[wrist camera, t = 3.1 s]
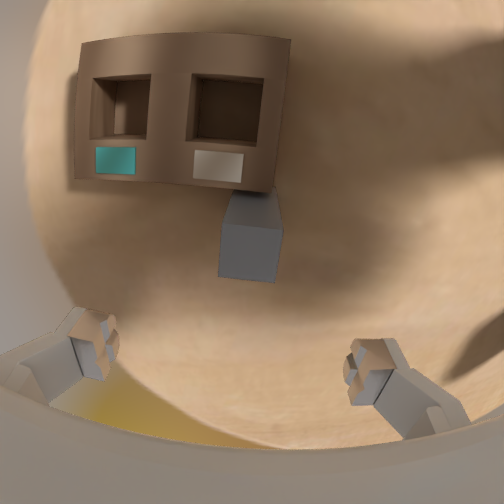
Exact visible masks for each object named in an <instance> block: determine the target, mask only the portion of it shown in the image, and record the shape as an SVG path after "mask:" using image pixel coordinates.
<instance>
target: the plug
mask: <svg viewBox="0 0 504 504" xmlns="http://www.w3.org/2000/svg"><path fill="white" fill-rule="evenodd" d="M283 231H284V230H283V224H282V219H281V213H280V208H279V203H278V197H277V192H276V187H272V193H264V192H255V191H247V190H237V189H234V190H233V193H232V196H231V199H230V202H229V205H228V207H227V210H226V213H225V216H224V219H223V222H222V230H221V243H220V256H219V271H218V277H224V278H233V279H242V280H251V281H260V282H269V283H275V279H276V273H277V267H278V261H279V255H280V249H281V243H282V237H283Z"/></svg>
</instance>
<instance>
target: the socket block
mask: <svg viewBox="0 0 504 504" xmlns="http://www.w3.org/2000/svg"><path fill="white" fill-rule="evenodd" d="M290 44H291V39H284V38H276V37H268V36H258V35H247V34H232V33H198V32H195V33H161V34H146V35H135V36H126V37H118V38H110V39H103V40H97V41H91V42H86V43H82V46H81V53H80V60H79V69H78V78H77V90H76V104H75V127H74V167H75V179H99V180H122V181H140V182H156V183H171V184H184V185H196V186H207V187H218V188H228V189H237V190H247V191H255V192H264V193H272V187H273V179H274V172H275V164H276V156H277V149H278V141H279V133H280V125H281V118H282V110H283V102H284V94H285V86H286V78H287V69H288V61H289V53H290ZM133 80H151V84H150V95H149V107H148V121H147V135H137V134H118V135H114V118H115V102H116V90H117V81H133ZM203 80H215V81H231V82H244V83H254V84H263V93H262V101H261V110H260V118H259V127H258V135H257V142H253V141H244V140H234V139H222V138H210V137H198V129H199V118H200V107H201V97H202V88H203Z"/></svg>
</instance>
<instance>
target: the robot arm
mask: <svg viewBox="0 0 504 504" xmlns="http://www.w3.org/2000/svg"><path fill="white" fill-rule="evenodd" d="M116 324H117V323H116V319H115V316H114V315H113V314H111V313H106V312H101V311H97V310H92V309H87V308H82V307H78V306H76V307H74V308H73V309H72V310H71V311H70V313H69V314H68V315H67V316H66V318H65V319H64V320H63V322H62V323H61V324H60V326H59V327H58V328H57V329H56V331H55V332H54V333H52V332H50V333H47V334H45V335H43V336H41V337H39V338H37V339H35V340H32V341H30V342H28V343H26V344H23V345H21V346H19V347H17V348H15V349H13V350H10V351H8V352H6V353H4V354H2V355H0V504H504V414H503V415H500V416H497V417H494V418H491V419H488V420H485V421H482V422H479V423H475V424H471V422H470V420H469V418H468V416H467V414H466V412H465V410H464V408H463V406H462V404H461V402H460V401H459V400H458V399H457V398H455V397H454V396H452V395H451V394H449V393H448V392H447V391H445V390H444V389H442V388H441V387H440V386H438V385H437V384H435V383H434V382H432V381H431V380H430V379H428V378H427V377H425V376H424V375H423V374H421V373H420V372H418V371H417V370H415V369H414V368H412V369H410V367H409V365H408V363H407V361H406V359H405V357H404V355H403V353H402V351H401V349H400V347H399V345H398V343H397V341H396V340H395V339H394V338H381V339H354V340H353V342H352V344H351V347H350V348H351V351H352V353H350V354H349V355H348V356H347V357H346V359H345V362H344V367H343V377H344V380H345V382H346V383H347V384H348V385H349V386H350V387H349V389H348V395H349V399H350V402H351V406H363V405H374V408H375V409H376V410H377V411H378V412H379V413H380V414H381V415H382V416H383V417H384V418H385V419H386V420H387V421H388V422H389V423H390V424H391V425H392V426H393V428H394V429H395V430H396V431H397V432H398V433H399V434H400V435H401V436H402V437H403V440H402V441H395V442H389V443H382V444H374V445H365V446H356V447H344V448H329V449H303V450H277V449H250V448H236V447H225V446H215V445H206V444H198V443H191V442H185V441H178V440H171V439H167V438H161V437H156V436H151V435H146V434H141V433H137V432H132V431H128V430H124V429H120V428H117V427H113V426H109V425H105V424H102V423H98V422H95V421H92V420H88V419H85V418H82V417H79V416H76V415H72V414H70V413H67V412H64V411H61V410H58V409H56V408H53V407H50V406H49V404H48V403H49V402H51V401H52V400H53V399H55V398H56V397H58V396H59V395H60V394H62V393H63V392H64V391H66V390H67V389H68V388H70V387H71V386H73V385H74V384H75V383H77V382H78V381H79V380H81V379H82V378H83V377H87V378H92V379H96V380H100V381H105V380H106V377H107V375H108V373H109V371H110V369H111V366H110V362H111V361H113V360H115V359H116V356H117V354H118V350H119V346H120V345H119V334H118V333H117V331H116V330H115V329H114V327H115V326H116Z"/></svg>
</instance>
